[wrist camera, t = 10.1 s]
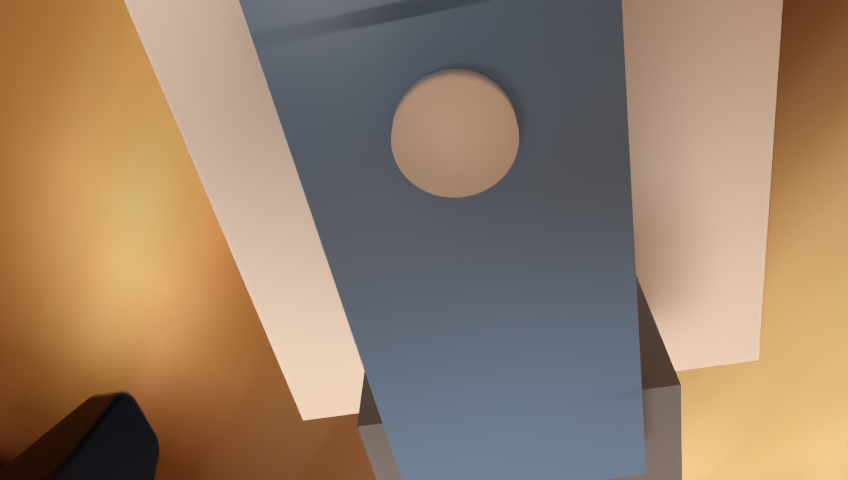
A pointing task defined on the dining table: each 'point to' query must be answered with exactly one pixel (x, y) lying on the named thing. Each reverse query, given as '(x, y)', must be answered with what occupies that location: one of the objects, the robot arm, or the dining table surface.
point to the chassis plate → (650, 182)
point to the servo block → (473, 222)
